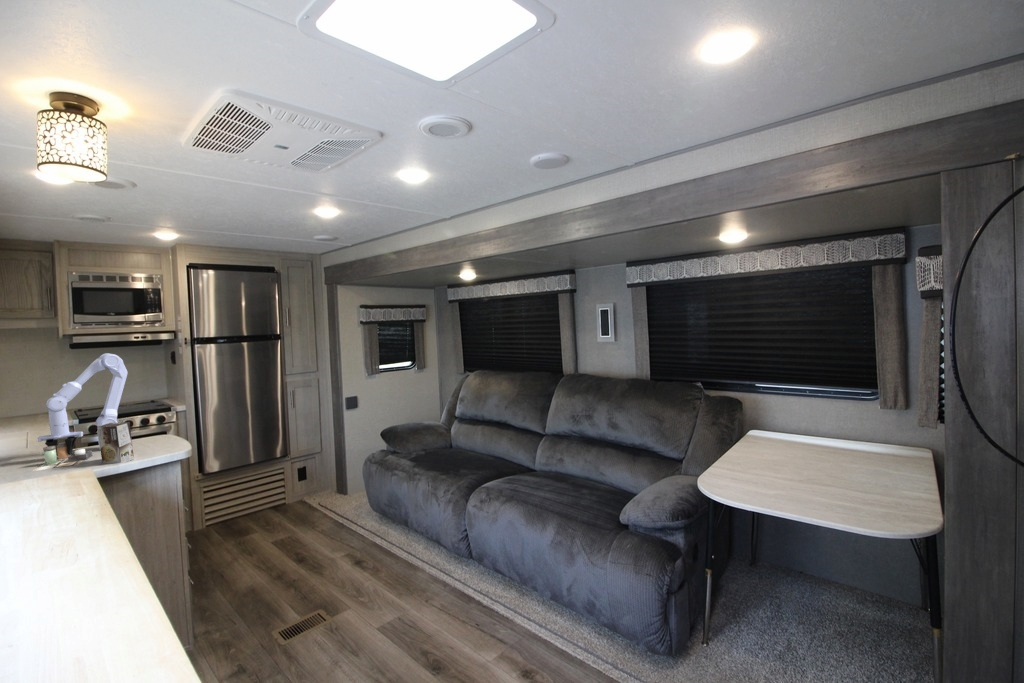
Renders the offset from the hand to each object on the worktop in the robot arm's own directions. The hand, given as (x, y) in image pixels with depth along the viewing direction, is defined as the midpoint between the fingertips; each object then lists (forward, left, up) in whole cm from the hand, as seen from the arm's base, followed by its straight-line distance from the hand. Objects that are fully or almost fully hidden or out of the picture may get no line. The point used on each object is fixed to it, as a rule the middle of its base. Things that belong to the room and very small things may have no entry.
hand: (63, 455), depth 207 cm
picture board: (-3, +10, -2) cm, 11 cm away
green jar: (+1, +8, -1) cm, 8 cm away
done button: (-8, +6, -1) cm, 10 cm away
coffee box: (-24, +17, -2) cm, 29 cm away
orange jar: (0, 0, -2) cm, 2 cm away
